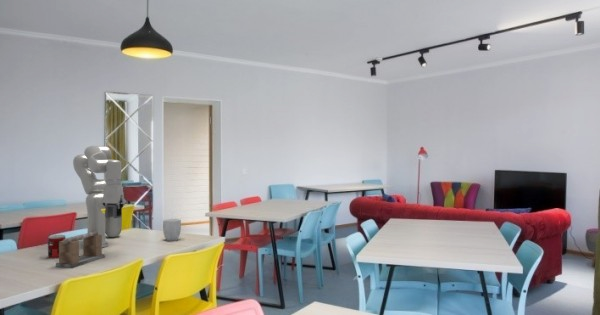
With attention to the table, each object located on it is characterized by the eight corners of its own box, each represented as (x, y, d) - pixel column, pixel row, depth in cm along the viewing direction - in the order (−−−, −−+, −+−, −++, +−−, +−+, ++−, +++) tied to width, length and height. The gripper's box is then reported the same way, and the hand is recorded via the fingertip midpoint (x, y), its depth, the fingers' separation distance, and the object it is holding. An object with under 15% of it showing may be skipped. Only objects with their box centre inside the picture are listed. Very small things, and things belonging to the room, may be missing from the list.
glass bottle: (107, 235, 280) (107, 193, 279) (123, 235, 281) (123, 193, 280) (102, 238, 270) (102, 195, 269) (118, 238, 271) (119, 195, 271)
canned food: (49, 255, 225) (49, 235, 225) (66, 254, 228) (66, 234, 228) (46, 259, 218) (47, 238, 218) (64, 257, 221) (64, 236, 221)
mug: (165, 237, 276) (165, 217, 276) (182, 236, 278) (182, 217, 278) (161, 241, 262) (161, 221, 262) (179, 241, 263) (179, 220, 263)
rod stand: (55, 266, 204) (55, 238, 204) (88, 255, 226) (88, 230, 225) (72, 268, 202) (72, 239, 202) (104, 257, 223) (104, 231, 223)
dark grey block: (105, 217, 228) (105, 204, 228) (111, 216, 233) (111, 203, 233) (115, 218, 226) (115, 205, 226) (121, 217, 231) (121, 204, 231)
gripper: (95, 182, 228) (95, 215, 228) (122, 183, 224) (122, 217, 224) (104, 181, 235) (104, 213, 235) (131, 182, 231) (131, 215, 231)
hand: (113, 215), depth 230 cm, fingers closed on dark grey block, 6 cm apart
